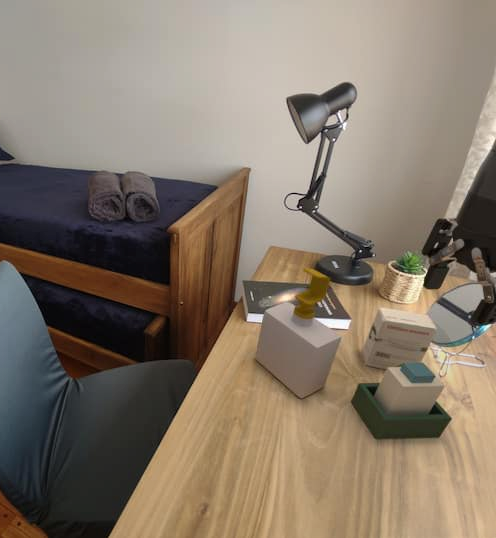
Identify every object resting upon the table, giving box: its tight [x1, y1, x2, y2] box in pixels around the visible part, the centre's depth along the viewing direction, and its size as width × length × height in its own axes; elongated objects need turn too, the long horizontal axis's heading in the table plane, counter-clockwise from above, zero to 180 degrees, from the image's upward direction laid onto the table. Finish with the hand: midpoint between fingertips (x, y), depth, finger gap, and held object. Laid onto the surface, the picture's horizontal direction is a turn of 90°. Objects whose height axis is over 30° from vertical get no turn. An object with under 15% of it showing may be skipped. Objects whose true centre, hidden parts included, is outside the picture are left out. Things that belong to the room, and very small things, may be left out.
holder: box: [350, 382, 453, 440], centre depth 60 cm, size 11×7×5 cm
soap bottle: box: [254, 268, 342, 399], centre depth 65 cm, size 12×7×23 cm, turn 27°
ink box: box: [361, 306, 438, 370], centre depth 70 cm, size 9×5×12 cm, turn 71°
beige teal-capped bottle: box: [374, 362, 446, 415], centre depth 58 cm, size 4×6×11 cm, turn 91°
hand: (452, 304), depth 50 cm, fingers open, 8 cm apart
